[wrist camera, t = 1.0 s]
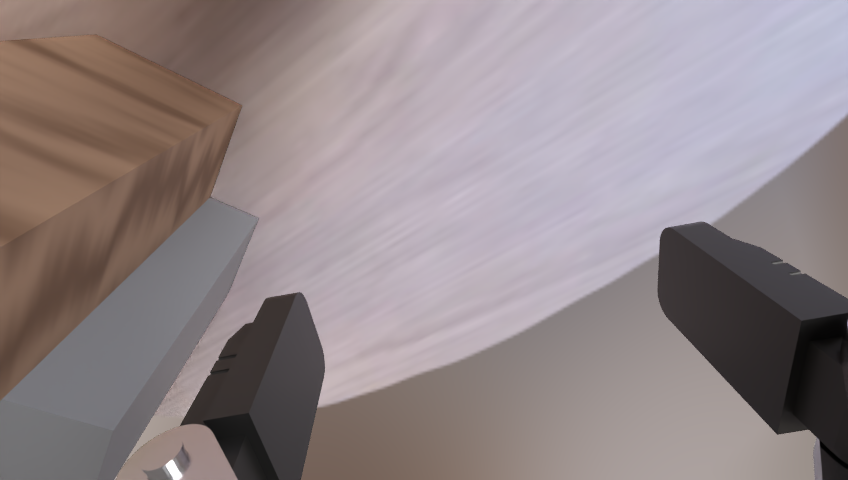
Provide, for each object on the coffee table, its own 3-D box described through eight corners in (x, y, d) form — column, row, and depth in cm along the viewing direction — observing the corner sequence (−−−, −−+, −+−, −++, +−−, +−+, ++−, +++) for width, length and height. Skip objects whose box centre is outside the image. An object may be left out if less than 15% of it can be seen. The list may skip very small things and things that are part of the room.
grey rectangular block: (131, 163, 34) (-192, 344, 16) (258, 218, 37) (113, 430, 18) (109, 247, 37) (-185, 482, 19) (228, 292, 40) (76, 540, 21)
